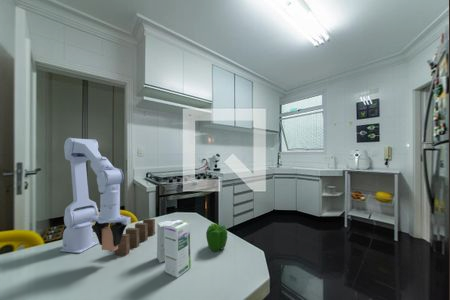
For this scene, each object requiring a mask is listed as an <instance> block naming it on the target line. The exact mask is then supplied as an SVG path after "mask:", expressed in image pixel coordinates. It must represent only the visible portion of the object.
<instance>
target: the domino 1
mask: <svg viewBox="0 0 450 300" xmlns="http://www.w3.org/2000/svg"><path fill="white" fill-rule="evenodd" d="M110 227H111V226H109V227H105V228H103V229H102V245H101V250H102V251H112V252H115V250H117V249H118V245H117V246H114V245H113V234H112V231H111V229H110Z"/></svg>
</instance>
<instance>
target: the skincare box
mask: <svg viewBox="0 0 450 300" xmlns="http://www.w3.org/2000/svg"><path fill="white" fill-rule="evenodd" d="M175 221H176V220H173V219H172V220H165V221H162V222H161V221H160V222H157V229H156V230H157V231H156V240H157V241H156V244H157V245H156V258H157V260H158V262H159V263H165V239H164V226H165V225H168V224H170V223H172V222H175Z"/></svg>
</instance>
